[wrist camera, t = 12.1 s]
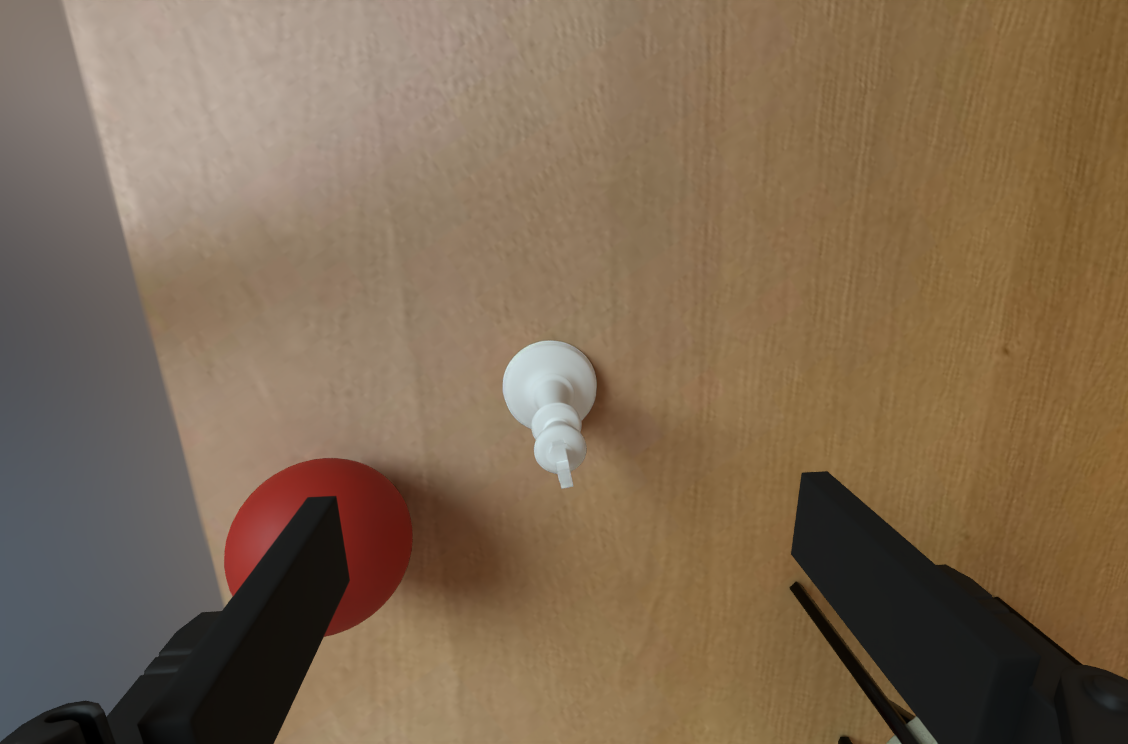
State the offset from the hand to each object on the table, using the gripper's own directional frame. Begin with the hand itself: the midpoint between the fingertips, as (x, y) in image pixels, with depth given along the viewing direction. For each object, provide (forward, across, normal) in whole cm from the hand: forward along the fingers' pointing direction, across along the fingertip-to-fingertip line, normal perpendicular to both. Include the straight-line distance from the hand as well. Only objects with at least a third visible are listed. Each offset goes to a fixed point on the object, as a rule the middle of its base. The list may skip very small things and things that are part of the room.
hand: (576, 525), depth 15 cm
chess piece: (+14, 0, 0) cm, 14 cm away
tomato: (+13, -11, -6) cm, 18 cm away
